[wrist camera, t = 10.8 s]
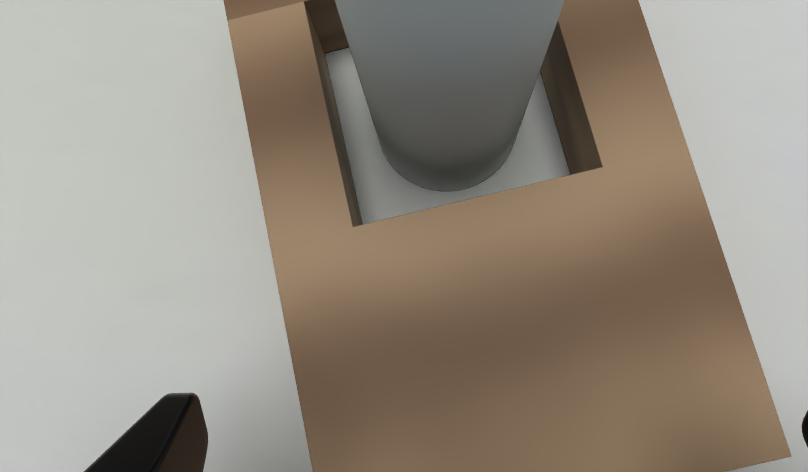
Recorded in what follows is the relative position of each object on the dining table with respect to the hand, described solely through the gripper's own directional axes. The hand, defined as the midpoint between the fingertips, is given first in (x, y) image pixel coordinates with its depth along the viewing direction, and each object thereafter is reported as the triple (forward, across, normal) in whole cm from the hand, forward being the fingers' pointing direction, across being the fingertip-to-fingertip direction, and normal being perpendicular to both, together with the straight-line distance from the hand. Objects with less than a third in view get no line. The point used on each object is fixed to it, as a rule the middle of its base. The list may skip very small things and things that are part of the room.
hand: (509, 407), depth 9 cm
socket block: (+10, -1, +2) cm, 10 cm away
